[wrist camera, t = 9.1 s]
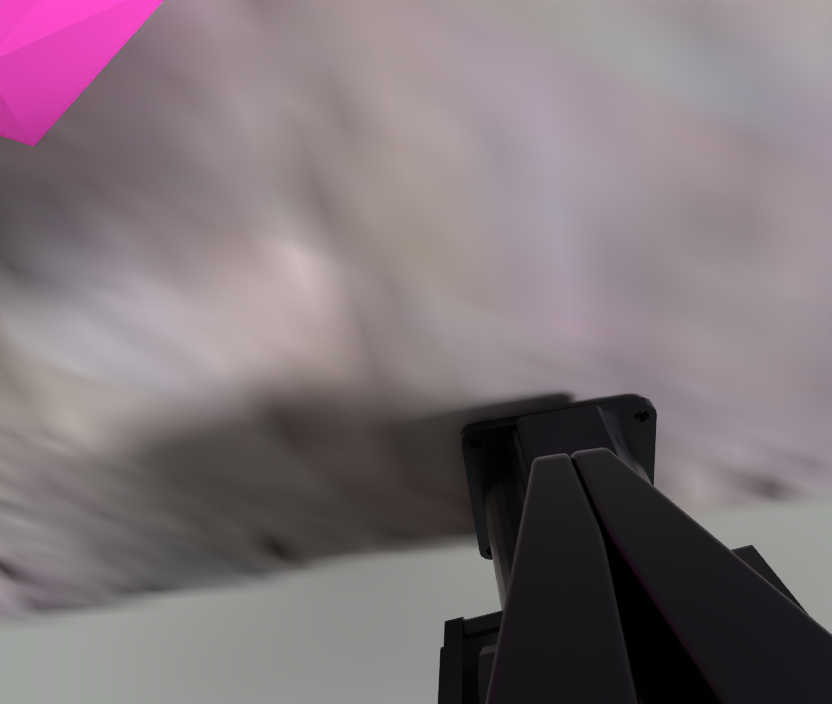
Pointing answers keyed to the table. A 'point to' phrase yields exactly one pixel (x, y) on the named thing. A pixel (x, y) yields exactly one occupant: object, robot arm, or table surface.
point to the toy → (57, 56)
